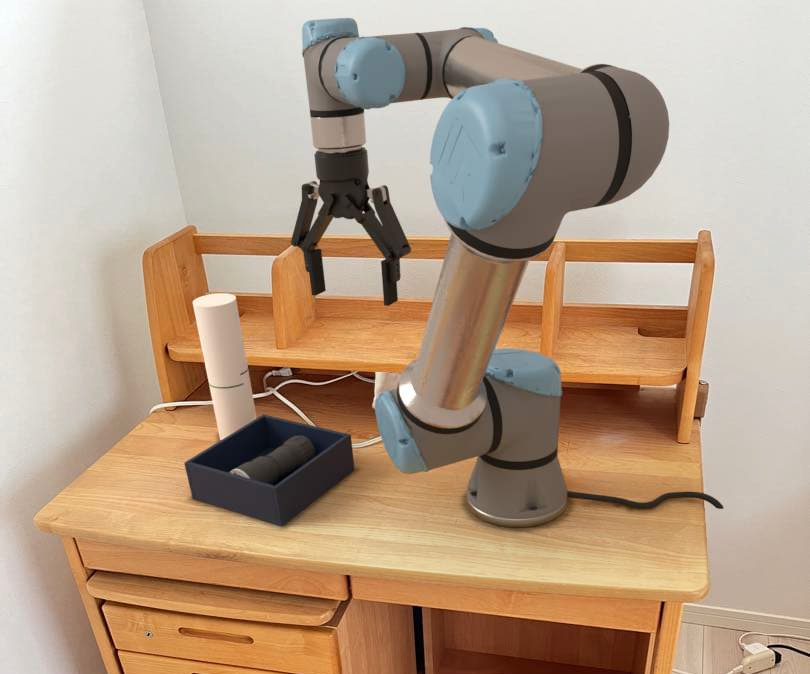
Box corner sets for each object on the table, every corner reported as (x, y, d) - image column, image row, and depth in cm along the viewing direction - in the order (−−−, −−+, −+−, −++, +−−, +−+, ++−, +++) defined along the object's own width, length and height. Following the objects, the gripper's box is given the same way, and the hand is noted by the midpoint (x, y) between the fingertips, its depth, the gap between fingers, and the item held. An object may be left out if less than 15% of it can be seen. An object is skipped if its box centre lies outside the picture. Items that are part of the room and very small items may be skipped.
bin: (354, 470, 137) (351, 434, 133) (281, 526, 123) (275, 488, 120) (269, 448, 145) (263, 414, 142) (192, 498, 132) (183, 462, 128)
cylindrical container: (266, 430, 151) (244, 295, 137) (243, 447, 146) (217, 308, 132) (235, 424, 154) (210, 291, 140) (211, 440, 149) (183, 304, 135)
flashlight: (296, 457, 141) (292, 428, 138) (320, 464, 138) (316, 435, 135) (230, 496, 130) (225, 466, 127) (255, 505, 128) (249, 474, 125)
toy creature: (406, 440, 145) (402, 376, 138) (372, 438, 146) (367, 375, 139) (419, 411, 154) (415, 350, 148) (387, 410, 156) (383, 349, 149)
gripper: (430, 146, 112) (435, 299, 124) (287, 141, 124) (304, 282, 136) (401, 155, 107) (410, 315, 119) (255, 149, 119) (276, 295, 130)
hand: (354, 298), depth 127 cm, fingers open, 13 cm apart
